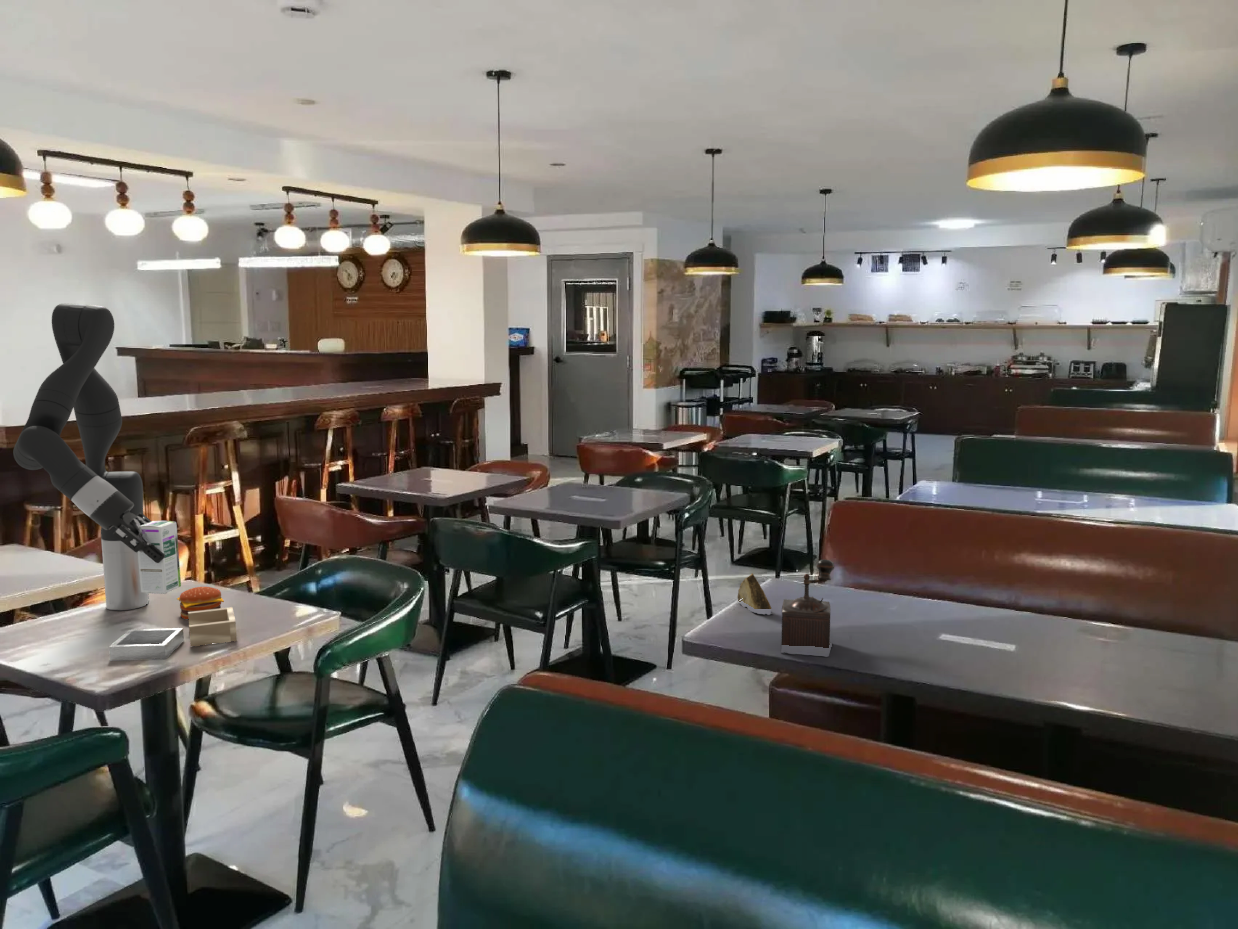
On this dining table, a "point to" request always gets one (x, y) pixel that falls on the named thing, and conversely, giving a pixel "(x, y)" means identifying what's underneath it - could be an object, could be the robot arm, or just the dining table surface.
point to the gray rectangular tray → (146, 644)
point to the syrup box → (168, 569)
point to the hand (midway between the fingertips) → (166, 555)
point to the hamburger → (199, 600)
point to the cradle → (212, 626)
